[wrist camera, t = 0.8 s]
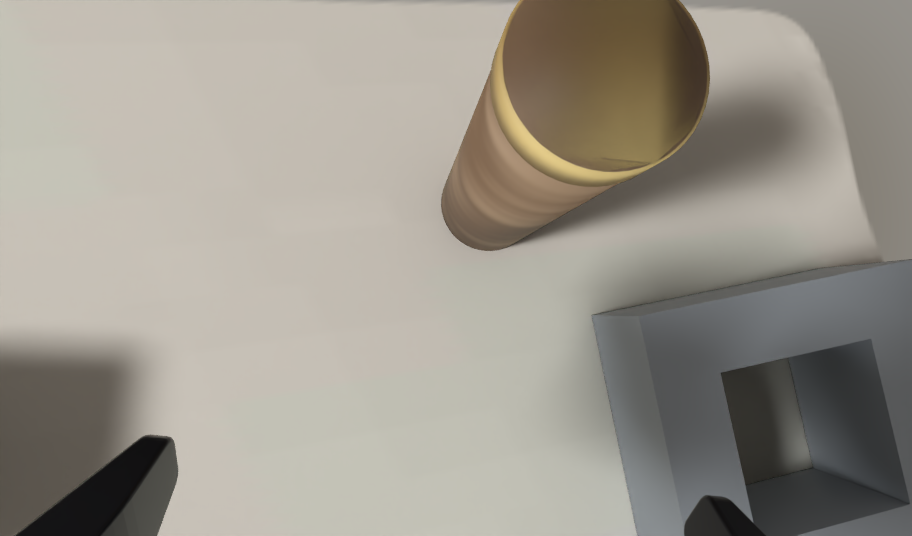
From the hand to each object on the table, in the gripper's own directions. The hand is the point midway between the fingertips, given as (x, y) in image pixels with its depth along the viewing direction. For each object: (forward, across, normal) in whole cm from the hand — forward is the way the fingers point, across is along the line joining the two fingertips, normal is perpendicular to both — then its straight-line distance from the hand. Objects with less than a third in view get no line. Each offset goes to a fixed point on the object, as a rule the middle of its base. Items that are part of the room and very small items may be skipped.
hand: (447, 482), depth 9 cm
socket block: (+11, -14, +8) cm, 19 cm away
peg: (+15, -2, +2) cm, 15 cm away
